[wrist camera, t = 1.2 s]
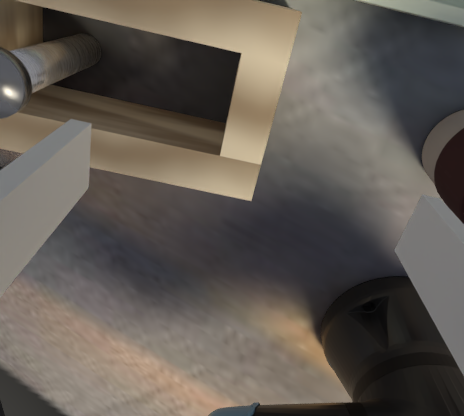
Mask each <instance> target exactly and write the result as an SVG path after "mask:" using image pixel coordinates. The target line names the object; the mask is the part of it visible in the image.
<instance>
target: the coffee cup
mask: <svg viewBox="0 0 464 416" xmlns="http://www.w3.org/2000/svg"><path fill="white" fill-rule="evenodd" d="M422 163H423V167H424V169H425V172H426V173H427V175H428V176H429V177H430V179H431V180H432V181H433V183H434V184H435V186H436V189H437V192H438V193H439V195H440V197H441V198H442V199H443V201H444V202H445V204H446V205H447V206H448V208H449V209H450V210H451V211H452V212H453V213H454V214H455V215H456V216H457V217H458V219H459V220H460V221H461V222H462V223H463V224H464V110H461V111H458V112H456V113H453V114H451V115H449V116H448V117H446V118H444V119H443V120H442V121H441V122H439V123H438V124H437V125H436V126H435V127H434V128H433V129H432V131H431V132H430V134H429V135H428V137H427V139H426V141H425V143H424V146H423V150H422Z"/></svg>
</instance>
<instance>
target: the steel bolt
mask: <svg viewBox="0 0 464 416" xmlns="http://www.w3.org/2000/svg"><path fill="white" fill-rule="evenodd" d="M100 57H101V48H100V45H99V43H98V42H97V40H96V39H95V38H94V37H93V36H91V35H89V34H85V33H81V34H77V35H73V36H69V37H65V38H60V39H56V40H52V41H48V42H44V43H40V44H36V45H32V46H28V47H24V48H19V49H15V50H11V51H8V50H7V49H5V48H2V47H0V119H2V118H7V117H9V116H11V115H13V114H15V113H17V112H19V111H21V110H22V109H24V108H25V107H26V106H27V104H28V103H29V101H30V99H31V95H32V93H34V92H36V91H38V90H40V89H42V88H45V87H47V86H49V85H51V84H53V83H55V82H58V81H60V80H62V79H64V78H66V77H68V76H71V75H73V74H75V73H77V72H79V71H81V70H83V69H86V68H88V67H90V66H92V65H94V64H96V63H97V62H98V61H99V59H100Z"/></svg>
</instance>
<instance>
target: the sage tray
mask: <svg viewBox="0 0 464 416" xmlns="http://www.w3.org/2000/svg"><path fill="white" fill-rule="evenodd" d="M354 1H358V2H362V3H366V4H370V5H374V6H378V7H382V8H386V9H390V10H394V11H398V12H403V13H407V14H411V15H415V16H419V17H423V18H427V19H431V20H435V21H439V22H443V23H447V24H451V25H455V26H459V27H463V28H464V0H354Z"/></svg>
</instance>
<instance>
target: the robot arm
mask: <svg viewBox="0 0 464 416" xmlns="http://www.w3.org/2000/svg"><path fill="white" fill-rule="evenodd" d="M90 146H91V123H88V122H83V121H78V120H74V119H70V120H69V121H67V122H66V123H65V124H63V125H62V126H61V127H59V128H58V129H56V130H55V131H54V132H52V133H51V134H50V135H48V136H47V137H45V138H44V139H43V140H41V141H40V142H39V143H37V144H36V145H34V146H33V147H32V148H30V149H29V150H28V151H26V152H25V153H24V154H22V155H21V156H19V157H18V158H17V159H15V160H14V161H13V162H11V163H10V164H8V165H7V166H6V167H4V168H2V167H0V297H1V296H2V295H3V293H4V292H5V291H6V290H7V288H8V287H9V286H10V285H11V283H12V282H13V281H14V280H15V279H16V277H17V276H18V275H19V274H20V272H21V271H22V270H23V269H24V267H25V266H26V265H27V264H28V262H29V261H30V260H31V259H32V257H33V256H34V255H35V254H36V253H37V251H38V250H39V249H40V248H41V246H42V245H43V244H44V243H45V241H46V240H47V239H48V238H49V236H50V235H51V234H52V233H53V231H54V230H55V229H56V228H57V227H58V225H59V224H60V223H61V222H62V220H63V219H64V218H65V217H66V215H67V214H68V213H69V212H70V210H71V209H72V208H73V207H74V205H75V204H76V203H77V202H78V201H79V199H80V198H81V197H82V196H83V194H84V193H85V192H86V191H87V189H88V188H89V170H90ZM394 251H395V253H396V254H397V256H398V258H399V260H400V262H401V264H402V265H403V267H404V269H405V271H406V273H407V274H408V276H409V278H408V277H387V278H381V279H376V280H372V281H369V282H366V283H363V284H361V285H358V286H356V287H354V288H352V289H351V290H349V291H347V292H346V293H344V294H343V295H342V296H340V297H339V298H338V299H337V300H336V301H335V302H334V303H333V304H332V305H331V306H330V308H329V309H328V311H327V312H326V314H325V316H324V318H323V321H322V325H321V340H322V344H323V349H324V353H325V356H326V359H327V361H328V363H329V365H330V366H331V368H332V369H333V370H334V371H335V373H336V374H337V376H338V378H339V379H340V381H341V383H342V384H343V386H344V388H345V389H346V391H347V392H348V394H349V395H350V397H351V399H352V401H353V403H314V404H282V405H260V404H259V403H253V404H252V405H250V406H238V407H226V408H220V409H217V410H215V411H213V412H212V413H210V414H209V415H208V416H464V224H463V223H462V222H461V221H460V220H459V219H458V217H457V216H456V215H455V214H454V213H453V212H452V211H451V210H450V209H449V208H448V206H447V205H446V204H445V203H444V202H443V201H442V200H441V199H440V198H435V197H431V196H426V195H422V196H421V198H420V200H419V202H418V204H417V206H416V208H415V210H414V212H413V214H412V216H411V218H410V220H409V222H408V224H407V226H406V228H405V230H404V232H403V234H402V236H401V238H400V240H399V242H398V244H397V246H396V248H395V250H394ZM0 416H5V415H4V411H3V408H2V404H1V401H0Z"/></svg>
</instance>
